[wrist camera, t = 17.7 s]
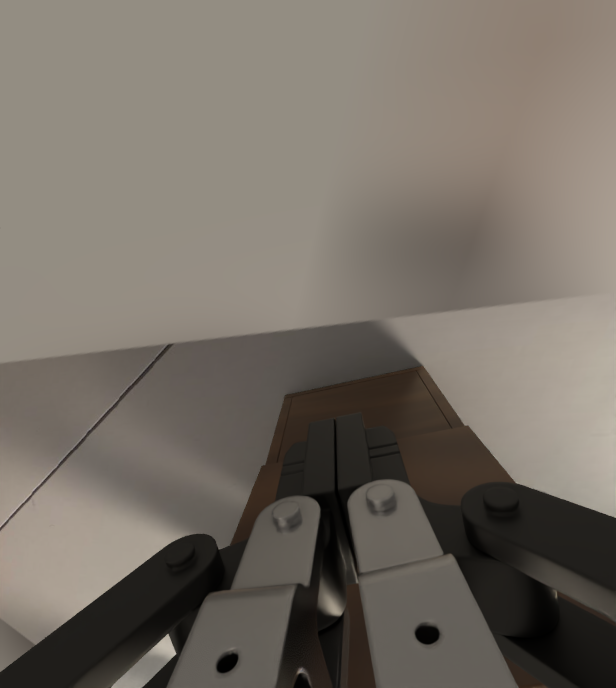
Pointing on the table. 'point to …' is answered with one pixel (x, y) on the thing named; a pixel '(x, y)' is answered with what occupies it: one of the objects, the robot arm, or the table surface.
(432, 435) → the lid
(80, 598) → the table surface
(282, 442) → the chest
